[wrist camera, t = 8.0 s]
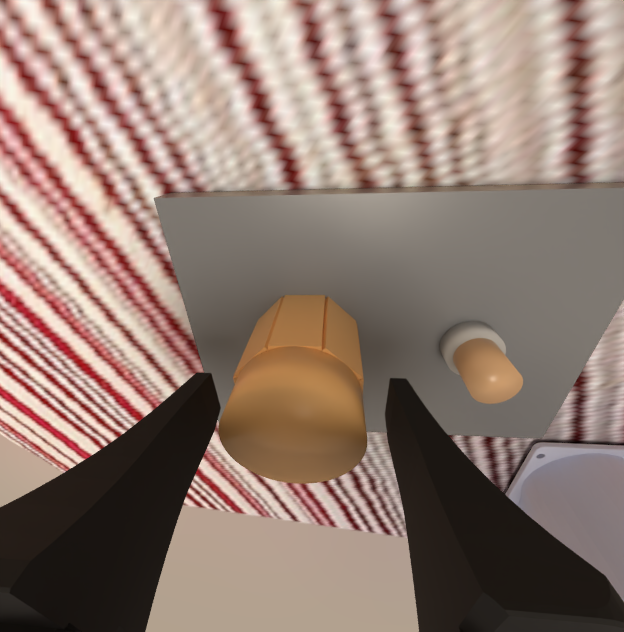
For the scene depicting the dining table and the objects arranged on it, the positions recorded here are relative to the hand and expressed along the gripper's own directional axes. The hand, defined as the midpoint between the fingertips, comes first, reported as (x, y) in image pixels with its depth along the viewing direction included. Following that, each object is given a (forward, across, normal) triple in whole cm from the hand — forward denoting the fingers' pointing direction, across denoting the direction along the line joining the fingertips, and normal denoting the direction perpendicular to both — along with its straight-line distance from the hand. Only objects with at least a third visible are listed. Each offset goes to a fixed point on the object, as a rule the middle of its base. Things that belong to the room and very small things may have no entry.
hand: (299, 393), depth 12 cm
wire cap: (+4, 0, 0) cm, 4 cm away
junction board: (+5, -4, 0) cm, 6 cm away
